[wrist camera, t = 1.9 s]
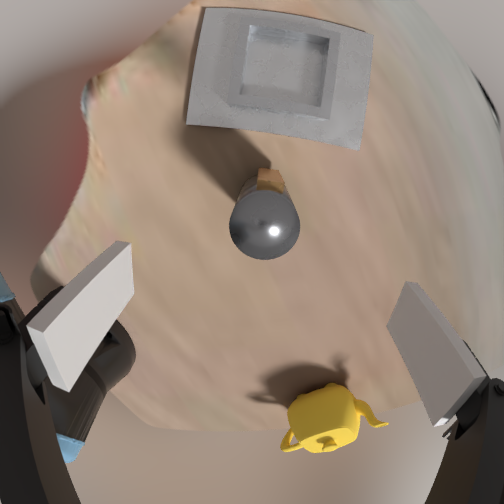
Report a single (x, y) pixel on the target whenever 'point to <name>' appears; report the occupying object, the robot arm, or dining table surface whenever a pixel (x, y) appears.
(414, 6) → the dining table surface
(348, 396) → the teapot
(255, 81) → the collar
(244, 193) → the grey rounded cylinder
